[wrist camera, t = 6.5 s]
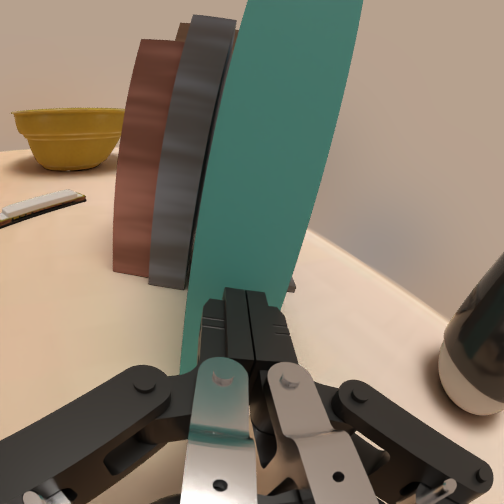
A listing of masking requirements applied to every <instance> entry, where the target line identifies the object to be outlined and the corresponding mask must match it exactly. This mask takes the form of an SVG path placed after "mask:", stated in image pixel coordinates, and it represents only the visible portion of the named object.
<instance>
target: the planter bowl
mask: <svg viewBox="0 0 504 504" xmlns="http://www.w3.org/2000/svg"><path fill="white" fill-rule="evenodd" d="M124 113H125V109H116V108H59V109H58V108H56V109H38V110H26V111H17V112H11V114H14V117H15V122H16V126H17V129H18V131H19V133H20V134H23V135H24V137H25V138H27V140H28V143H29V146H30V148H31V151H32V153H33V155H34V157H35V159H36V160H37V162H38V163H39V164H40V165H43V167H44V168H46V169H50V170H60V171H68V170H81V169H88V168H93V167H96V166H98V165H100V163H101V162H103V161H105V160H106V159H107V158H108V156H109V155H110V153H111V152H112V150H113V149H114V147H115V146H116V144H117V142H118V140H119V138H120V137H121V132H122V125H123V119H124Z"/></svg>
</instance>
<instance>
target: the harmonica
mask: <svg viewBox="0 0 504 504" xmlns="http://www.w3.org/2000/svg"><path fill="white" fill-rule="evenodd" d="M85 201H86V196H85V195H82V194H80V193H77V192H74V191H72V190H62V191H58V192H54V193H50V194H46V195H43V196H39V197H35V198H32V199H28V200H25V201H21V202H18V203H15V204H11V205H8V206H6V207H4V208H2V213H0V229H1V228H4V227H7V226H10V225H12V224H15V223H18V222H21V221H24V220H27V219H30V218H33V217H36V216H39V215H42V214H45V213H48V212H51V211H55V210H58V209H61V208H65V207H68V206H71V205H75V204H78V203H82V202H85Z"/></svg>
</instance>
